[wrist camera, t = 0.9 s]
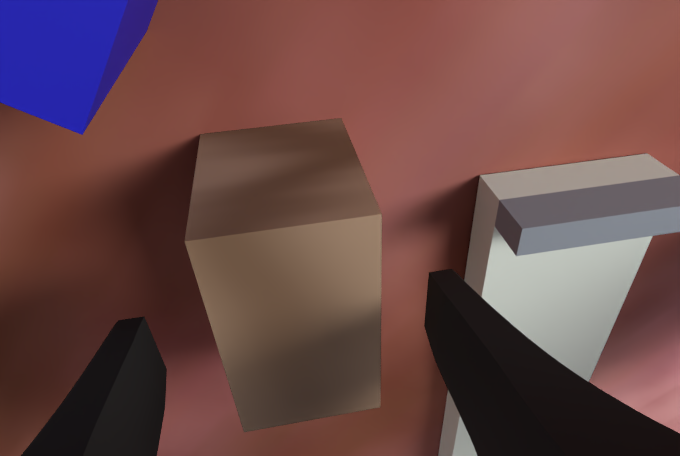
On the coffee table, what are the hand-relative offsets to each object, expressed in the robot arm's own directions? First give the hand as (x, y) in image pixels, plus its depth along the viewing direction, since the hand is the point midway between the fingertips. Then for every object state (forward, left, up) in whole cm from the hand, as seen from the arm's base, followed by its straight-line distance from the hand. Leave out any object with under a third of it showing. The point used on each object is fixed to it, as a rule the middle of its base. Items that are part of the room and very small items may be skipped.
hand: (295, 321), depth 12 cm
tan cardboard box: (0, 0, -4) cm, 4 cm away
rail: (-10, +11, -4) cm, 15 cm away
